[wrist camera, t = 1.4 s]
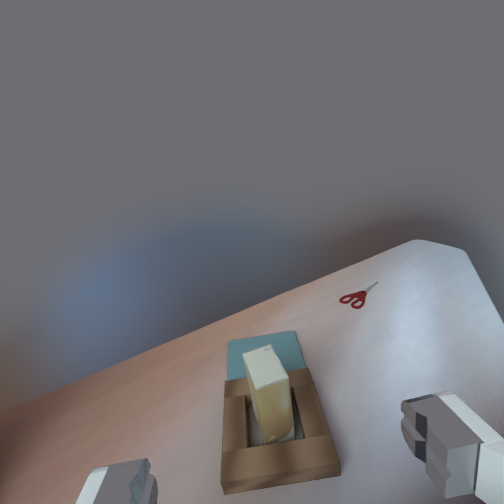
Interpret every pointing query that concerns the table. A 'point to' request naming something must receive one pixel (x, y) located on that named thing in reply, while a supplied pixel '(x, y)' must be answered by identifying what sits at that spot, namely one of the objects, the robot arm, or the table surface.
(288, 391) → the skincare box
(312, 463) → the pocket holder
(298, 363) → the teal mat
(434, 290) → the table surface
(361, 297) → the scissors
